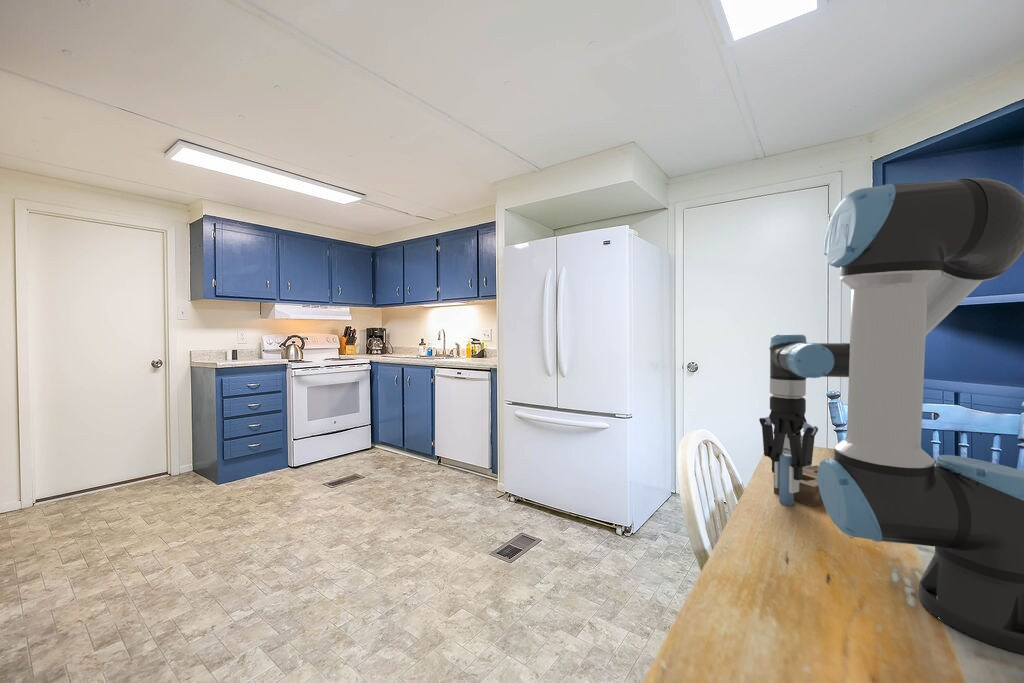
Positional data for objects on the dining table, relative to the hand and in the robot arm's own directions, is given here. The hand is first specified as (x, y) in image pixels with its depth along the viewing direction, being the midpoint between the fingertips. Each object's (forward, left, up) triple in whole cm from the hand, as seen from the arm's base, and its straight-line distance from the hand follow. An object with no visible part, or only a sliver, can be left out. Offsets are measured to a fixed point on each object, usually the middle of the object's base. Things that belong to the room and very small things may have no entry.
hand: (786, 489), depth 104 cm
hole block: (+13, +1, -4) cm, 14 cm away
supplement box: (+24, +14, -4) cm, 28 cm away
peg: (0, 0, -4) cm, 4 cm away
